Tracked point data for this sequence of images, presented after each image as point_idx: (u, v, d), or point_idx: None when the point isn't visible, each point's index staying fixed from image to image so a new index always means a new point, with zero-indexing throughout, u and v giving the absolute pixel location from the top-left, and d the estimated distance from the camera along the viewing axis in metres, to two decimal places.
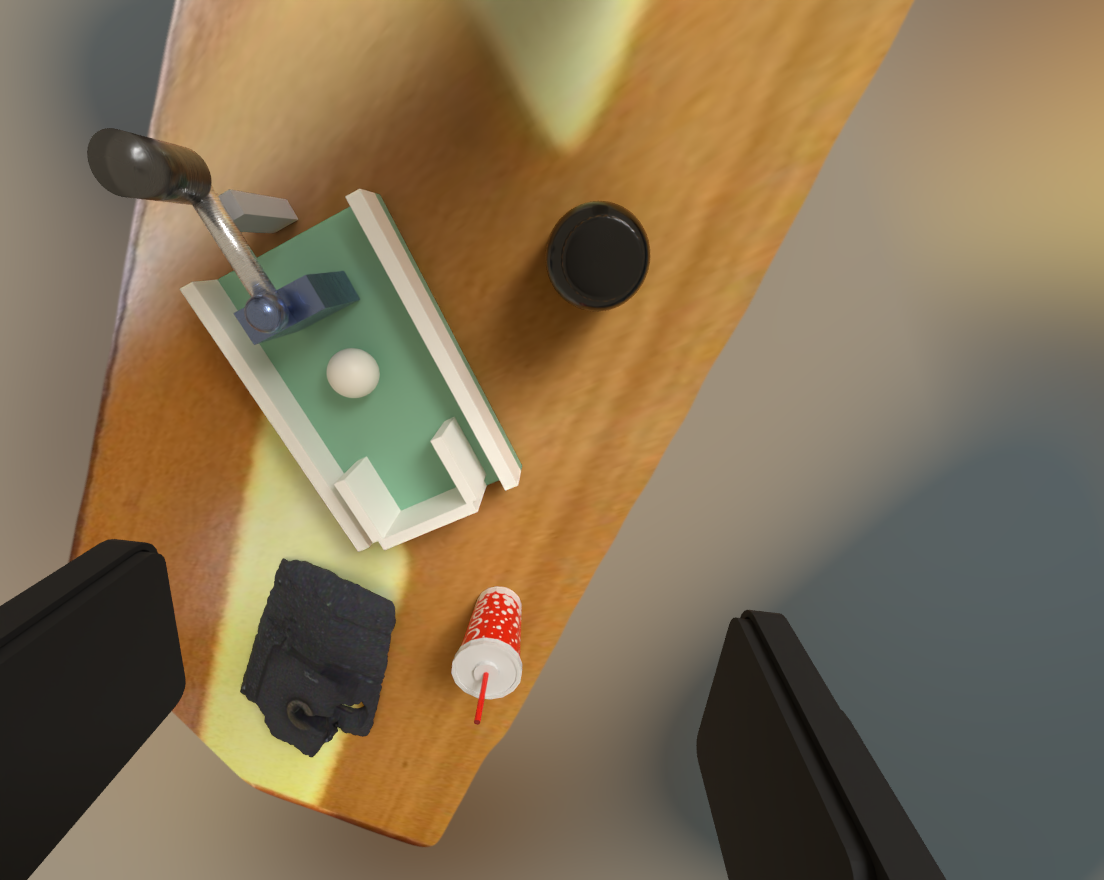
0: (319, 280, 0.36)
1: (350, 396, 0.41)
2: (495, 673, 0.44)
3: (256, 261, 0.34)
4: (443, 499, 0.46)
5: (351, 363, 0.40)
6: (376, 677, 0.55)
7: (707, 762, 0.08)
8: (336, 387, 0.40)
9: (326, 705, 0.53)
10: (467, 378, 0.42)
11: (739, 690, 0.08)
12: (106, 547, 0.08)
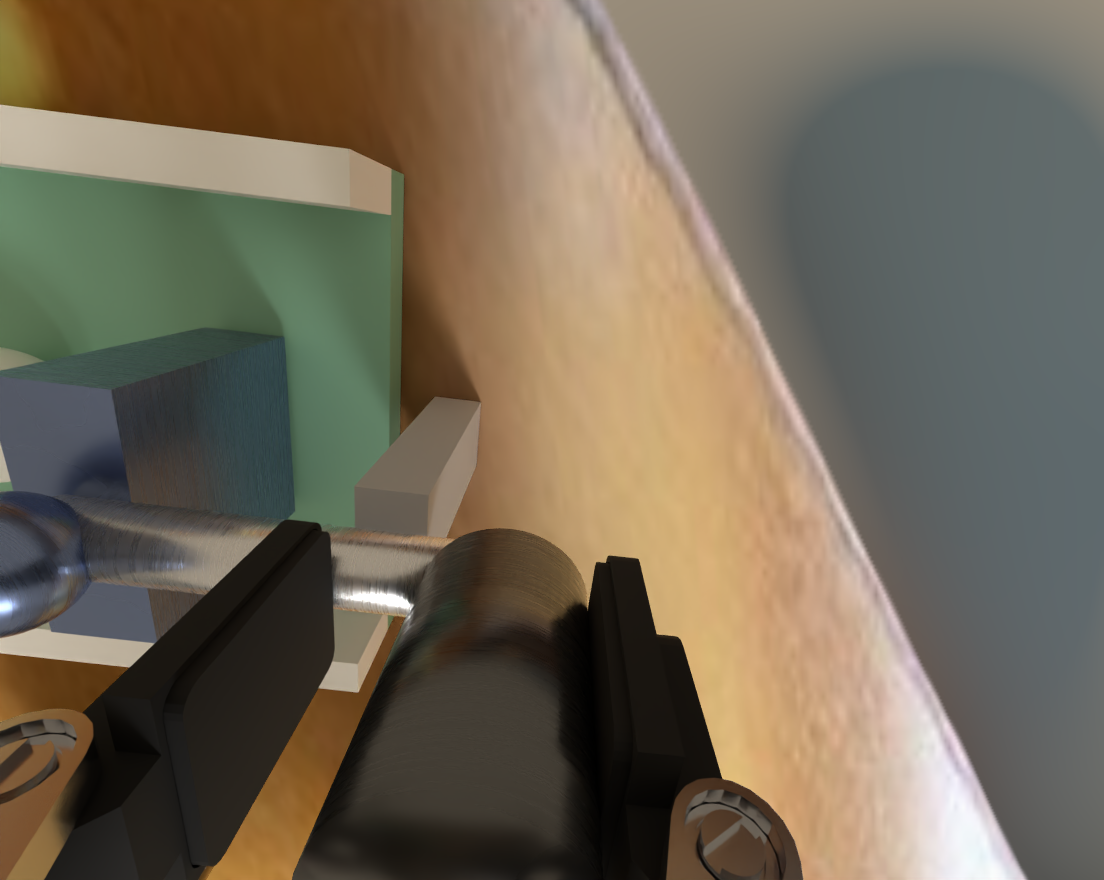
0: None
1: None
2: None
3: None
4: None
5: None
6: None
7: None
8: None
9: None
10: None
11: (593, 623, 0.09)
12: (287, 525, 0.09)
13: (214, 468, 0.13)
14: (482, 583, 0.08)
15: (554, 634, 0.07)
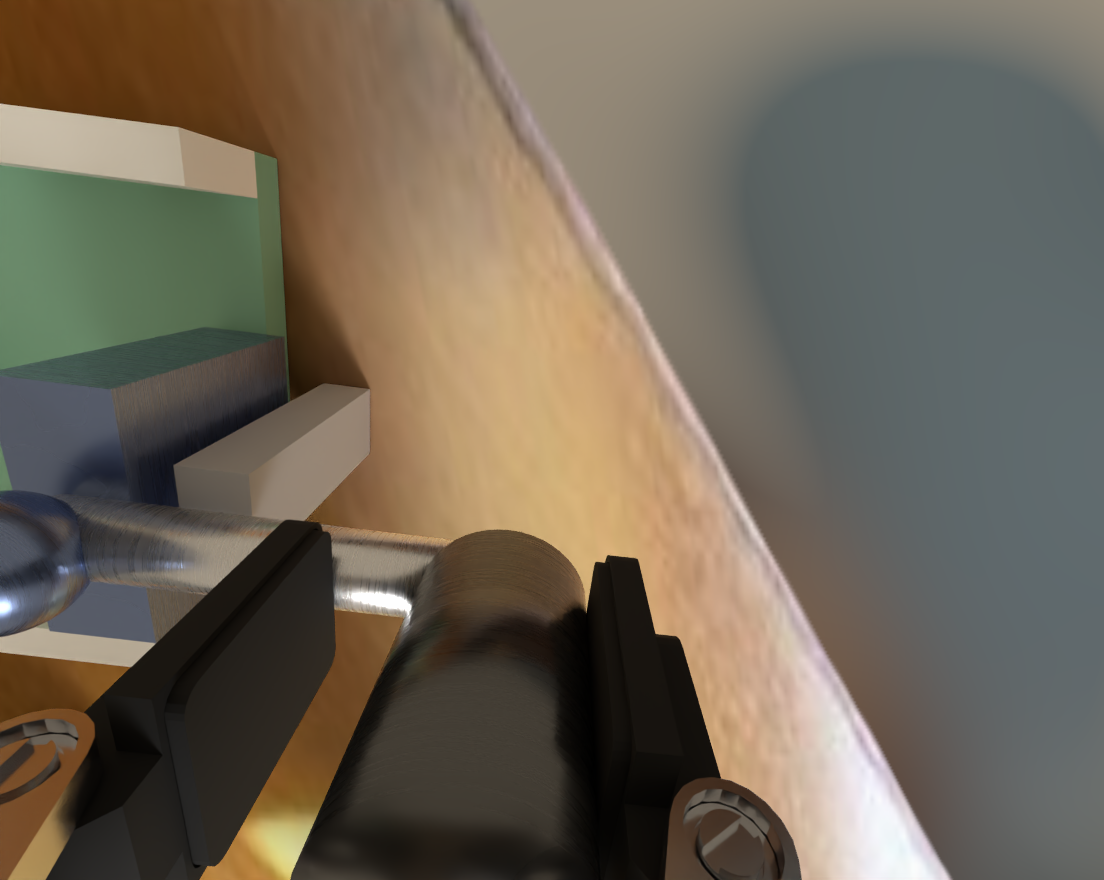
0: None
1: None
2: None
3: None
4: None
5: None
6: None
7: None
8: None
9: None
10: None
11: (592, 623, 0.09)
12: (288, 525, 0.09)
13: None
14: (481, 584, 0.08)
15: (553, 634, 0.07)
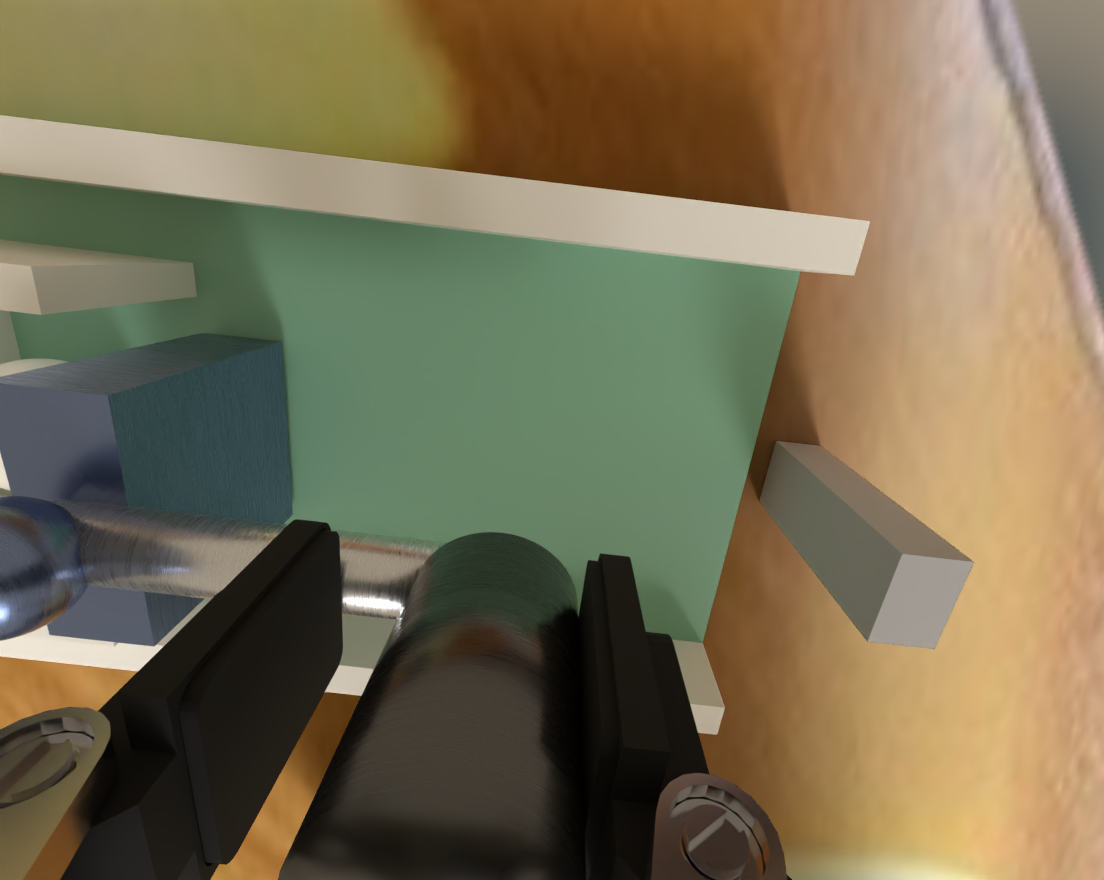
0: None
1: None
2: None
3: None
4: None
5: None
6: None
7: None
8: None
9: None
10: None
11: (584, 620, 0.09)
12: (297, 525, 0.09)
13: (210, 473, 0.13)
14: (471, 586, 0.08)
15: (542, 636, 0.07)
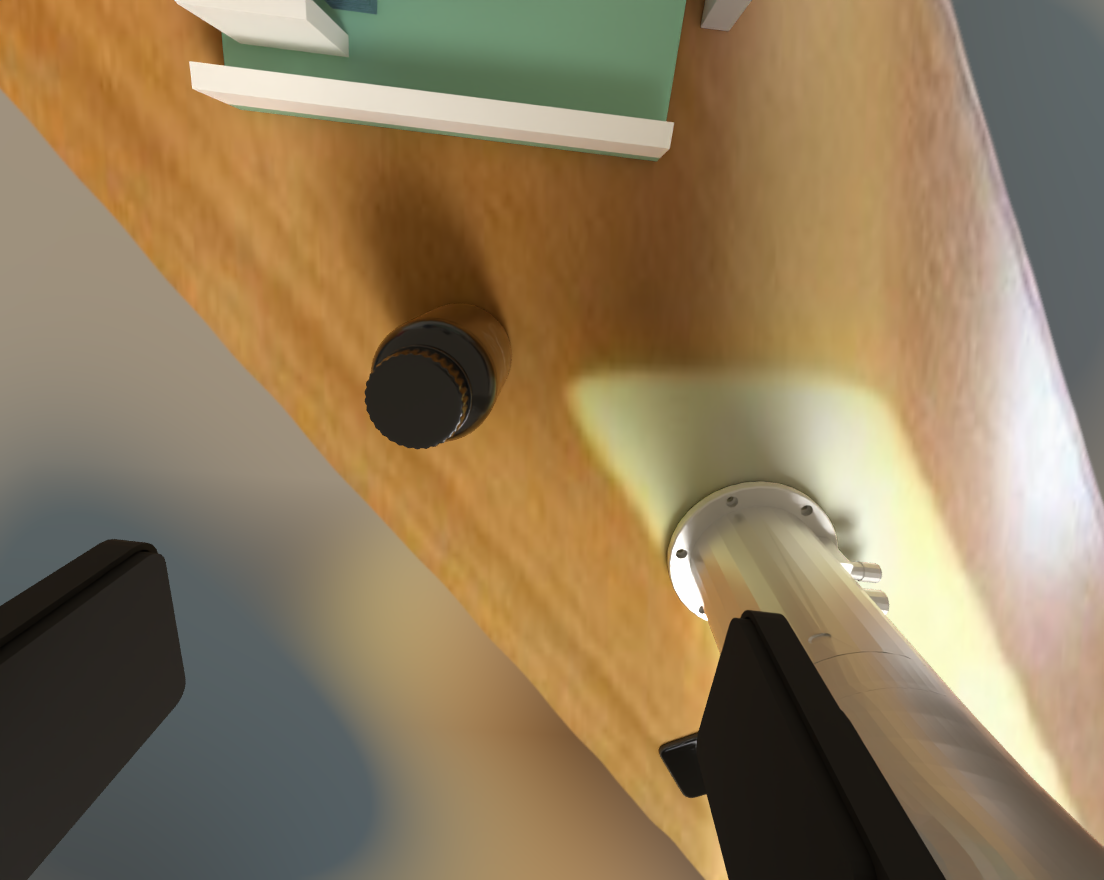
0: None
1: None
2: None
3: None
4: None
5: None
6: None
7: (706, 761, 0.08)
8: None
9: None
10: (389, 119, 0.29)
11: (739, 690, 0.08)
12: (106, 547, 0.08)
13: None
14: None
15: None
